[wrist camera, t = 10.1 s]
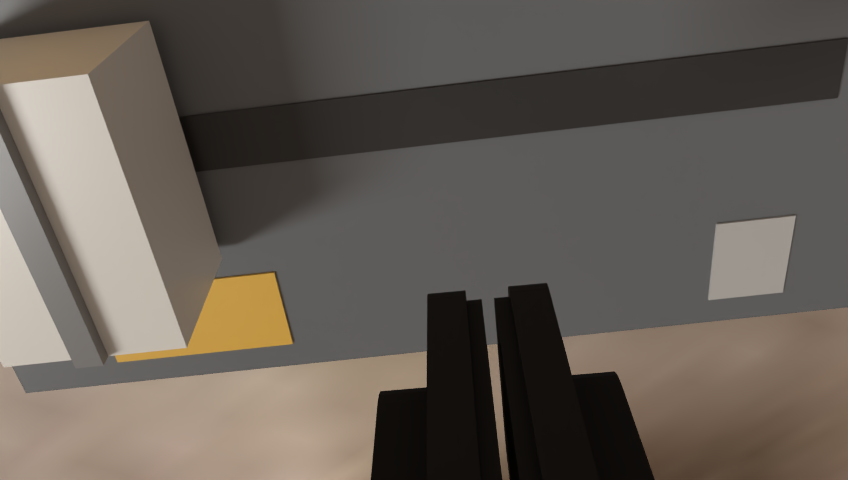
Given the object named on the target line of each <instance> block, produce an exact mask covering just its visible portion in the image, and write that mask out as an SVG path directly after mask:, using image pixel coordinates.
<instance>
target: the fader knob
mask: <svg viewBox="0 0 848 480" xmlns="http://www.w3.org/2000/svg"><path fill="white" fill-rule="evenodd" d="M221 260H222V257H221V254H220V251H219V248H218V244H217V241H216V238H215V234H214V231H213V228H212V225H211V221H210V218H209V215H208V212H207V208H206V205H205V202H204V198H203V195H202V192H201V189H200V185H199V182H198V179H197V176H196V172H195V169H194V166H193V162H192V159H191V156H190V153H189V149H188V146H187V143H186V140H185V136H184V133H183V130H182V126H181V123H180V120H179V117H178V113H177V110H176V107H175V104H174V100H173V97H172V94H171V90H170V87H169V84H168V81H167V77H166V74H165V71H164V68H163V64H162V61H161V58H160V54H159V51H158V48H157V45H156V41H155V38H154V35H153V32H152V28H151V25H150V22H149V21H142V22H134V23H126V24H118V25H110V26H102V27H94V28H86V29H77V30H69V31H61V32H53V33H45V34H37V35H29V36H21V37H13V38H4V39H0V362H1V364H2V366H3V367H11V366H20V365H30V364H39V363H49V362H58V361H68V360H72V362H73V364H74V366H75V368H85V367H94V366H104V364H105V362H106V360H107V358H108V356H115V355H124V354H134V353H143V352H153V351H162V350H172V349H181V348H187V346H188V344H189V341H190V339H191V336H192V334H193V331H194V329H195V326H196V324H197V321H198V318H199V316H200V313H201V311H202V308H203V306H204V303H205V301H206V298H207V296H208V293H209V291H210V288H211V286H212V283H213V280H214V278H215V275H216V273H217V270H218V268H219V265H220V263H221Z"/></svg>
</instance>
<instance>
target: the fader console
mask: <svg viewBox="0 0 848 480" xmlns="http://www.w3.org/2000/svg"><path fill="white" fill-rule="evenodd" d="M142 21H149V22H150V25H151V28H152V32H153V35H154V38H155V41H156V45H157V48H158V51H159V54H160V58H161V61H162V64H163V68H164V71H165V74H166V77H167V81H168V84H169V87H170V90H171V94H172V97H173V100H174V104H175V107H176V110H177V113H178V117H179V120H180V123H181V126H182V130H183V133H184V136H185V140H186V143H187V146H188V149H189V153H190V156H191V159H192V162H193V166H194V169H195V172H196V176H197V179H198V182H199V185H200V189H201V192H202V195H203V198H204V202H205V205H206V208H207V212H208V215H209V218H210V221H211V225H212V228H213V231H214V234H215V238H216V241H217V244H218V248H219V251H220V254H221V257H222V260H221V263H220V265H219V268H218V270H217V273H216V275H215V278H214V280H213V283H212V286H211V288H210V291H209V293H208V296H207V298H206V301H205V303H204V306H203V308H202V311H201V313H200V316H199V318H198V321H197V324H196V326H195V329H194V331H193V334H192V336H191V339H190V341H189V344H188V346H187V348H181V349H172V350H162V351H153V352H143V353H134V354H124V355H115V356H108V358H107V360H106V362H105V364H104V366H94V367H85V368H75V366H74V364H73V362H72V360H68V361H58V362H49V363H39V364H30V365H20V366H12V367H13V369H14V371H15V373H16V375H17V377H18V379H19V381H20V383H21V384H22V386H23V388H24V390H25V392H26V393H31V392H40V391H50V390H59V389H69V388H79V387H88V386H98V385H107V384H117V383H126V382H136V381H146V380H155V379H165V378H174V377H184V376H193V375H203V374H213V373H222V372H232V371H241V370H251V369H261V368H270V367H280V366H289V365H299V364H308V363H318V362H328V361H337V360H347V359H356V358H366V357H375V356H385V355H395V354H404V353H414V352H423V351H427V294H431V293H442V292H452V291H463V290H465V291H466V299H467V300H477V299H482V306H483V315H484V324H485V333H486V342H487V345H490V344H497V332H496V319H495V307H494V298H499V297H508V286H517V285H528V284H539V283H547V284H548V287H549V291H550V294H551V298H552V302H553V306H554V310H555V313H556V317H557V321H558V325H559V329H560V332H561V336H562V337H567V336H577V335H586V334H596V333H605V332H615V331H624V330H634V329H644V328H653V327H663V326H672V325H682V324H691V323H701V322H711V321H720V320H730V319H739V318H749V317H759V316H768V315H778V314H787V313H797V312H806V311H816V310H826V309H835V308H845V307H848V0H0V39H4V38H13V37H21V36H29V35H37V34H45V33H53V32H61V31H69V30H77V29H86V28H94V27H102V26H110V25H118V24H126V23H134V22H142Z"/></svg>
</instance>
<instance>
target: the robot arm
mask: <svg viewBox="0 0 848 480" xmlns="http://www.w3.org/2000/svg"><path fill="white" fill-rule="evenodd" d="M494 307H495V319H496V332H497V344H498V356H499V369H500V381H501V394H502V406H503V418H504V431H505V442H506V452H507V462H508V470H509V478H510V480H654V477H653V474H652V471H651V468H650V465H649V462H648V460H647V457H646V454H645V451H644V448H643V445H642V442H641V439H640V437H639V434H638V431H637V428H636V425H635V422H634V419H633V416H632V413H631V411H630V408H629V405H628V402H627V399H626V396H625V393H624V390H623V388H622V385H621V382H620V380H619V377H618V375H617V374H616V373H615V372H604V373H592V374H580V375H572V374H571V371H570V367H569V363H568V359H567V355H566V352H565V348H564V344H563V340H562V336H561V332H560V329H559V325H558V321H557V317H556V313H555V310H554V306H553V302H552V298H551V294H550V291H549V287H548V284H547V283H539V284H528V285H517V286H508V297H499V298H494ZM371 480H502V475H501V466H500V457H499V448H498V439H497V430H496V421H495V413H494V404H493V395H492V386H491V377H490V368H489V359H488V351H487V342H486V333H485V324H484V315H483V306H482V299H477V300H467V299H466V291H465V290H463V291H452V292H442V293H431V294H427V387H426V388H415V389H403V390H391V391H381V392H380V394H379V398H378V406H377V417H376V428H375V440H374V451H373V462H372V473H371Z"/></svg>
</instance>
